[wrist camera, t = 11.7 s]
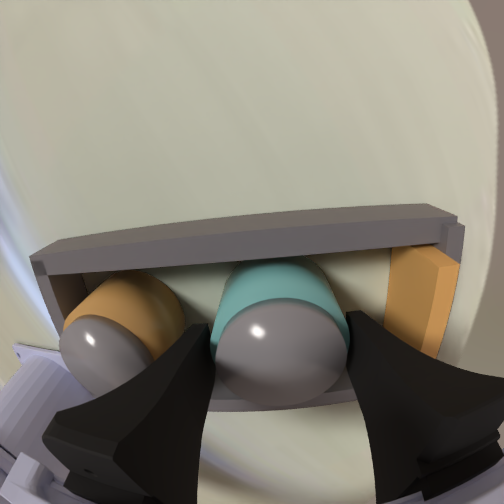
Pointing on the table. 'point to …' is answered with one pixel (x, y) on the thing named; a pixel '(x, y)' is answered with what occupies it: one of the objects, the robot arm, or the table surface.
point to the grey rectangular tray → (241, 258)
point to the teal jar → (279, 332)
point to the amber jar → (120, 330)
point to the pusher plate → (420, 296)
